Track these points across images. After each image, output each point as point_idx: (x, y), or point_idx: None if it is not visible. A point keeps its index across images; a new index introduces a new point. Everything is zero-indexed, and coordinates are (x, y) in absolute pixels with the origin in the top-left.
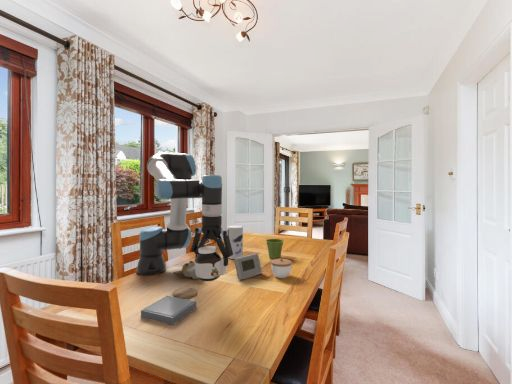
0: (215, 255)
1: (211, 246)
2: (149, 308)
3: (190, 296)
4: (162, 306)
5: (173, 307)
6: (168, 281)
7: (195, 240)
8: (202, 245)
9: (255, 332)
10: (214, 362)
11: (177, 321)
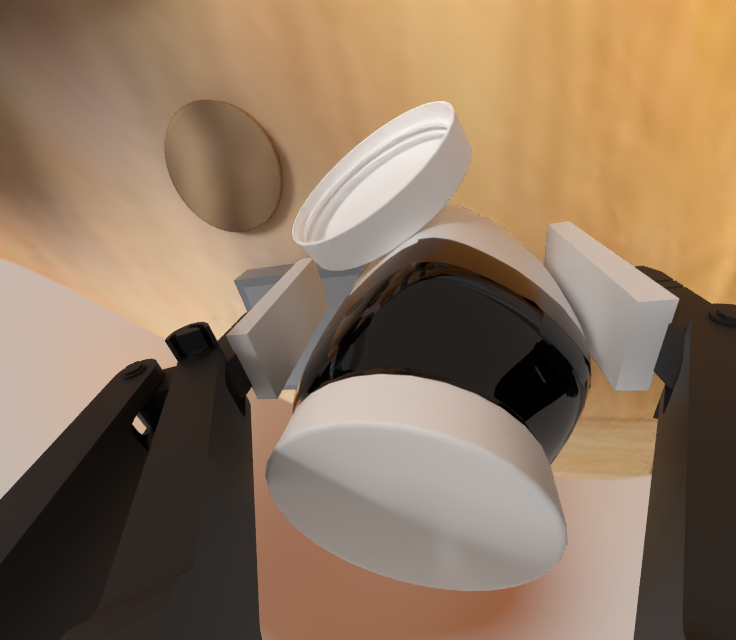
0: (553, 458)
1: (389, 451)
2: (290, 376)
3: (279, 190)
4: (309, 352)
5: None
6: (18, 89)
7: (102, 590)
8: (239, 481)
9: (732, 296)
10: (620, 443)
11: None
